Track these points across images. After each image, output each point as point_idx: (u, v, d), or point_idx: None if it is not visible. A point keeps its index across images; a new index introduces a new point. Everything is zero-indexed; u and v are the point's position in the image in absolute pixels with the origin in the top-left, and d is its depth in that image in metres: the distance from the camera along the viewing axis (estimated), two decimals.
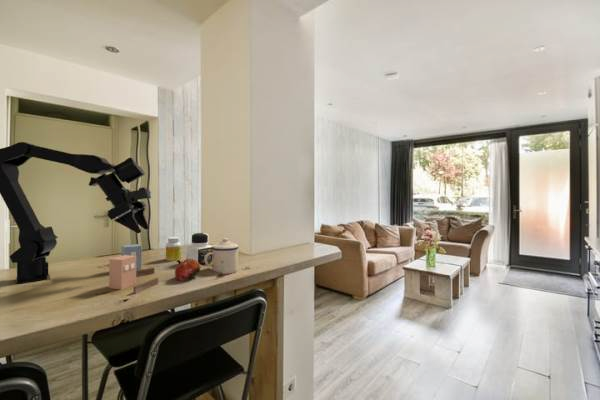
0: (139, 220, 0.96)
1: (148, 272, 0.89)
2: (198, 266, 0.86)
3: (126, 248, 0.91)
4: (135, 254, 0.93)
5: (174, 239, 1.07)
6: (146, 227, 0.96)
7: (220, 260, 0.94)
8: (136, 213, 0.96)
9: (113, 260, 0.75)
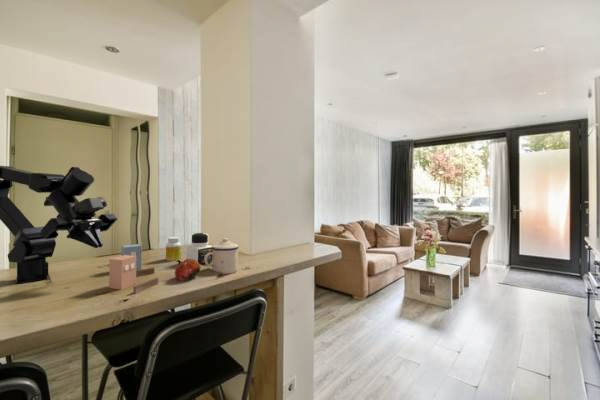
0: None
1: (148, 272, 0.89)
2: (198, 266, 0.86)
3: (126, 248, 0.91)
4: (135, 254, 0.93)
5: (174, 239, 1.07)
6: (99, 244, 0.80)
7: (220, 260, 0.94)
8: (89, 229, 0.81)
9: (113, 260, 0.75)
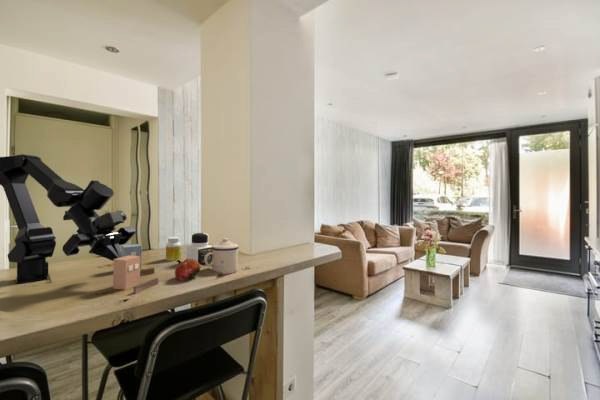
0: None
1: (148, 272, 0.89)
2: (198, 266, 0.86)
3: (126, 248, 0.91)
4: (135, 254, 0.93)
5: (174, 239, 1.07)
6: None
7: (220, 260, 0.94)
8: None
9: (117, 260, 0.75)
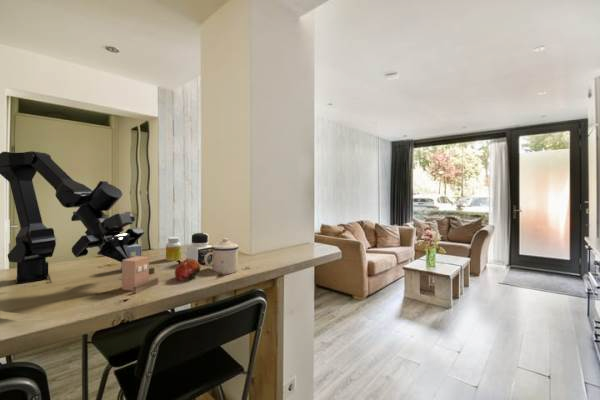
0: None
1: None
2: (198, 266, 0.86)
3: None
4: (135, 254, 0.93)
5: (174, 239, 1.07)
6: None
7: (220, 260, 0.94)
8: None
9: (126, 261, 0.74)
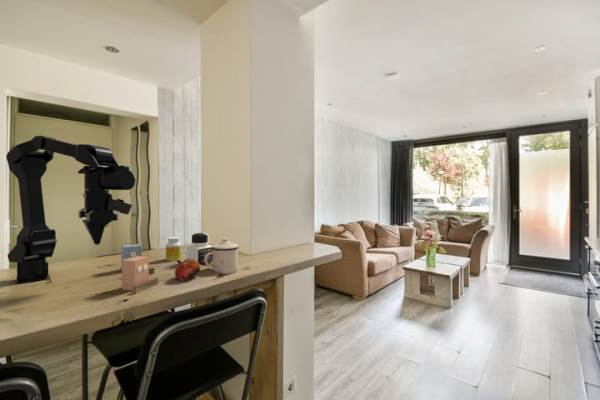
0: None
1: None
2: (198, 266, 0.86)
3: (126, 248, 0.91)
4: (135, 254, 0.93)
5: (174, 239, 1.07)
6: None
7: (220, 260, 0.94)
8: None
9: (126, 261, 0.74)
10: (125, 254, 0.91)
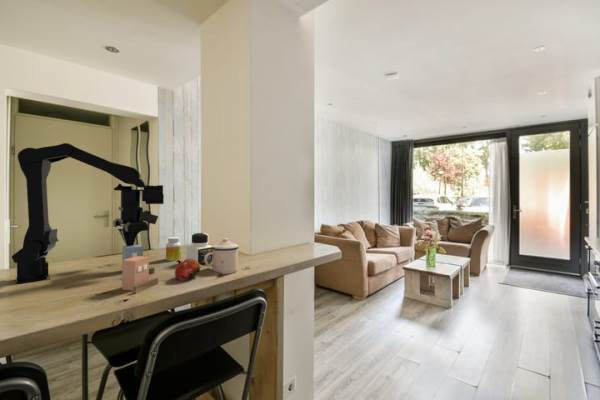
0: None
1: None
2: (198, 266, 0.86)
3: (127, 249, 0.90)
4: (136, 255, 0.92)
5: (174, 239, 1.07)
6: None
7: (220, 260, 0.94)
8: None
9: (126, 261, 0.74)
10: (126, 255, 0.90)
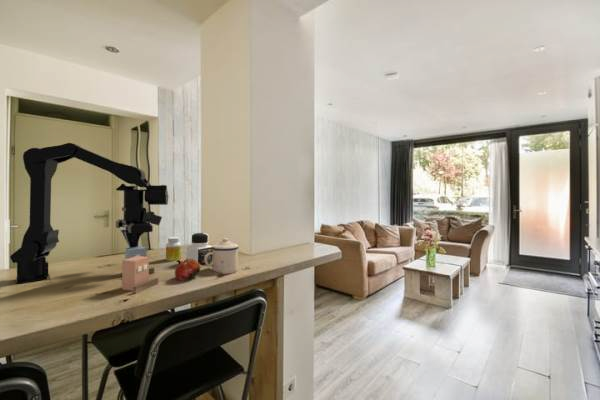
0: None
1: None
2: (198, 266, 0.86)
3: (130, 250, 0.88)
4: None
5: (174, 239, 1.07)
6: None
7: (220, 260, 0.94)
8: None
9: (126, 261, 0.74)
10: (129, 257, 0.88)
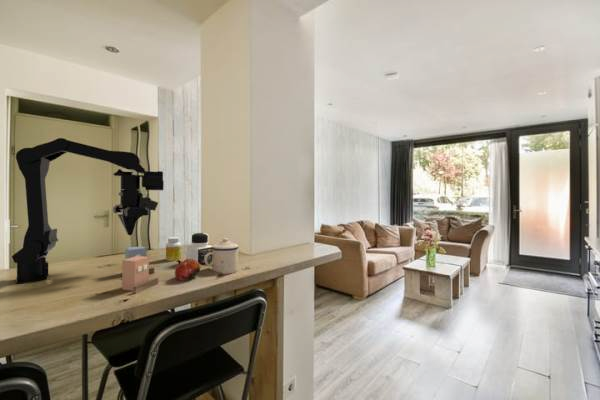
0: None
1: None
2: (198, 266, 0.86)
3: (131, 250, 0.88)
4: None
5: (174, 239, 1.07)
6: None
7: (220, 260, 0.94)
8: None
9: (126, 261, 0.74)
10: (130, 257, 0.87)
